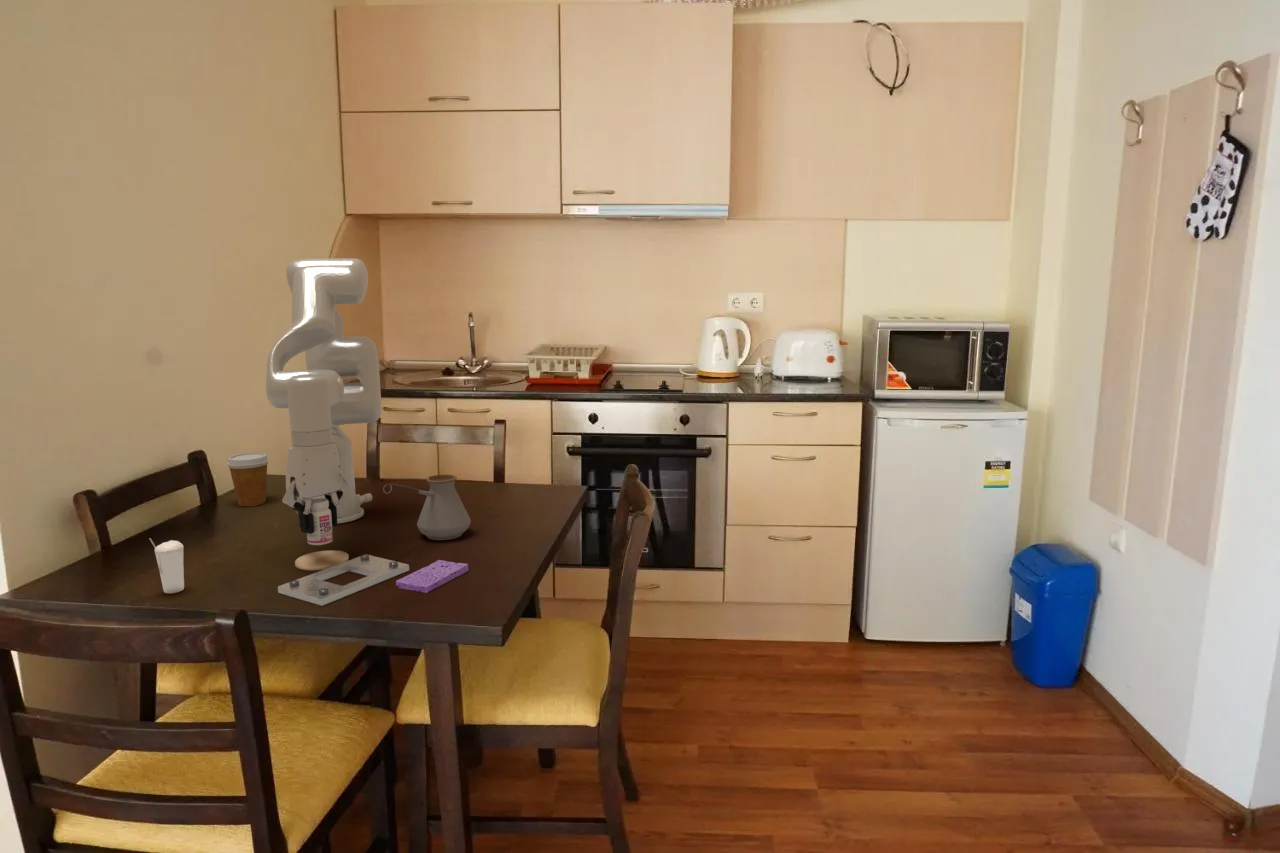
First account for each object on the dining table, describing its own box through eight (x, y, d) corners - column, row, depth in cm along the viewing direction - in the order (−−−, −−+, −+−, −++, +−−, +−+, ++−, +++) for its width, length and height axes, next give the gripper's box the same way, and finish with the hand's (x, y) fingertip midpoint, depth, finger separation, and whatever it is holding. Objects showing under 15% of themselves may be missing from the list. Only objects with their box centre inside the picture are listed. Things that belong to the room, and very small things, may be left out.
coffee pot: (443, 524, 190) (440, 460, 188) (482, 531, 184) (479, 465, 182) (370, 551, 172) (365, 480, 170) (410, 560, 166) (406, 487, 164)
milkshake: (162, 586, 154) (156, 534, 152) (192, 585, 154) (186, 533, 152) (150, 595, 149) (143, 542, 147) (181, 594, 150) (175, 541, 148)
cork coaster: (326, 550, 173) (326, 547, 173) (359, 558, 168) (359, 555, 168) (284, 564, 164) (284, 561, 164) (317, 573, 159) (317, 570, 159)
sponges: (468, 573, 160) (468, 563, 160) (426, 595, 149) (425, 586, 149) (439, 568, 163) (439, 559, 163) (395, 590, 152) (395, 580, 152)
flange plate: (366, 560, 167) (365, 551, 166) (409, 570, 161) (408, 561, 160) (278, 592, 150) (277, 583, 150) (322, 605, 144) (321, 596, 144)
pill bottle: (324, 546, 162) (321, 504, 161) (302, 545, 163) (299, 503, 162) (338, 539, 167) (335, 498, 166) (316, 537, 168) (313, 497, 167)
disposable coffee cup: (259, 496, 216) (255, 450, 214) (280, 501, 210) (276, 455, 208) (223, 504, 208) (218, 457, 206) (244, 510, 203) (239, 462, 201)
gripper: (335, 429, 171) (341, 515, 174) (260, 444, 156) (269, 537, 160) (360, 432, 167) (366, 520, 170) (286, 447, 153) (294, 543, 156)
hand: (319, 527), depth 165 cm, fingers closed on pill bottle, 4 cm apart
